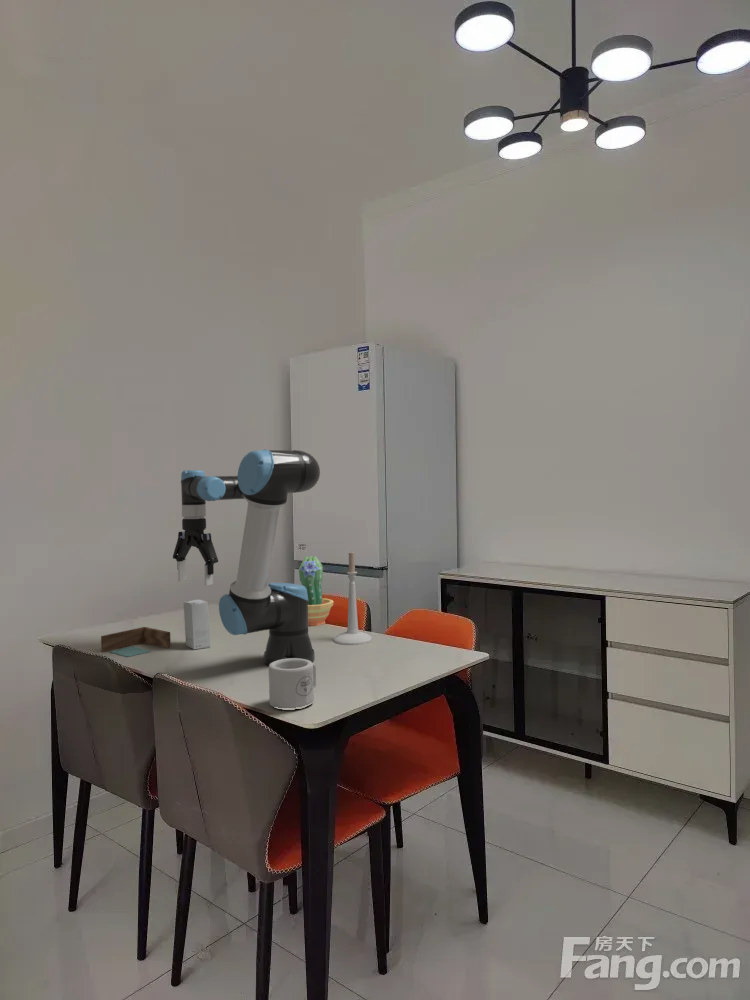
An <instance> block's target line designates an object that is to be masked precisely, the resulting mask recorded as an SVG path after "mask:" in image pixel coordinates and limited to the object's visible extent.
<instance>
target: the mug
mask: <svg viewBox="0 0 750 1000" xmlns="http://www.w3.org/2000/svg"><path fill="white" fill-rule="evenodd" d="M268 686H269V689H268V690H269V691H268V693H269V698H268V699H269V700H268V702H269V706H270V705H271V706H273V707H278V708H296V707H302V706H305V705H308V704H310V703H312V702H313V700H314V698H315V697H314V689H315V687H317V665H316V664H315V663H314V662H311V661H309V660H306V659H300V658H288V659H281V660H277V661H274V662H272V663H271V664H270V665H268ZM313 703H314V702H313ZM273 707H272V708H273Z"/></svg>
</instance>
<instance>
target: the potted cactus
mask: <svg viewBox="0 0 750 1000" xmlns="http://www.w3.org/2000/svg"><path fill="white" fill-rule="evenodd" d="M298 573H299V574H298V575H299V577H298V578H299V582H300V585H302V586H304V587H305V588H306V589H307V595H308V627H311V626H313V627H314V626H321V625H320V624H322V625H324V624H326V619H327V618H328V617H329V614H330V612H331V609H332V607H333V606H334V604H335V603H334V600H333V599H329V598H325V597H324V598H323V591H322V581H323V577H324V576H323V574H324V567H323V564H322V563H321V561H320V560H319V558H318V557H317V555H315V556H312V555H310V556H305V557H304V559H303V560H302V562H301V564H300V566H299V567H298Z"/></svg>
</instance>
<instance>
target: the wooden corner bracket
mask: <svg viewBox="0 0 750 1000" xmlns="http://www.w3.org/2000/svg"><path fill="white" fill-rule="evenodd" d="M100 642H101V643H100V645H101V648H100V649H101V652H102V653H106V652H110V651H114V650H118V649H122V648H126V647H131V646H135V645H140V644H149V645H153V646H156V647H157V646H158V647H161V648H166V649H170V648H171V647H172V646H171V645H172V643H171V632H170V631H165V630H162V629H158V628H152V627H147V626H142V627H137V628H132V629H128V630H122V631H120V632H114V633H109V634H106V635H101V636H100Z"/></svg>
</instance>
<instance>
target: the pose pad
mask: <svg viewBox="0 0 750 1000" xmlns="http://www.w3.org/2000/svg"><path fill="white" fill-rule="evenodd" d="M150 652H151V650H148V649H146V648H145V649H144V648H141V647H138V646H137V647H136V646H134V645H132V646H128V647H124V648H119V649H115V650H111V651H109V653H110V654H115V655H119V656H121V657H125V658H129V657H134V656H135V657H136V656H139V655H142V654H146V653H150Z"/></svg>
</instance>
